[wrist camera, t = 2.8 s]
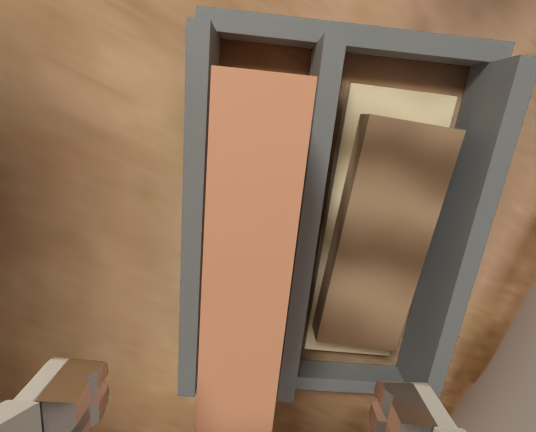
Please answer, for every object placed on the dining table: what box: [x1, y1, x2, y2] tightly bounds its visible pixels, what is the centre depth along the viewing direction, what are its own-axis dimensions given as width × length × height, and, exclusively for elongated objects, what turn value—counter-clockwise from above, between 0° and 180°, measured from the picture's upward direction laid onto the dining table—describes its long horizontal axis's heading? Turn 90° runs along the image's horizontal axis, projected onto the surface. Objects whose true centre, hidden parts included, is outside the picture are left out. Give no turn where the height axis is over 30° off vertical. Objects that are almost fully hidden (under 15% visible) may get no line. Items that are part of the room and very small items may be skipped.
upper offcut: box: [312, 114, 466, 352], centre depth 23 cm, size 16×6×2 cm, turn 171°
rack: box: [178, 5, 536, 403], centre depth 23 cm, size 26×19×4 cm
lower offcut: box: [303, 83, 457, 356], centre depth 25 cm, size 20×7×2 cm, turn 173°
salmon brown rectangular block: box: [195, 65, 317, 432], centre depth 19 cm, size 18×4×12 cm, turn 175°
